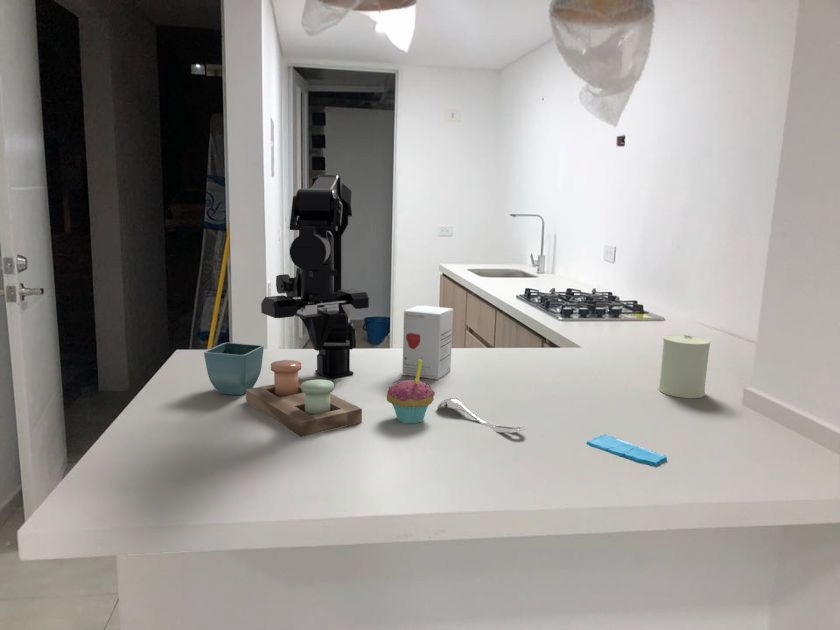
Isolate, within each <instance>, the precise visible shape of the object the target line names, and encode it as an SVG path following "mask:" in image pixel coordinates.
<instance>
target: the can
mask: <svg viewBox="0 0 840 630" xmlns="http://www.w3.org/2000/svg"><path fill="white" fill-rule="evenodd" d="M662 343H663V344H662V356H661V364H660V365H661V367H660V368H661V369H660V377H659V385H658V387H657V389H658V391H659V392H661V393H662V394H665V395H667V396H671V397H676V398H682V399H700V398H703V397H705V395H706V392H705V391H706V382H707V381H706V379H707V372H708V363H709V361H708V360H709V354H710V345H711V341H710V340H709V339H707V338H704V337H699V336H695V335H689V334H688V335H687V334H669V335H665V336H663V342H662Z"/></svg>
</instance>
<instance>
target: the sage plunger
mask: <svg viewBox="0 0 840 630" xmlns="http://www.w3.org/2000/svg"><path fill="white" fill-rule="evenodd" d="M304 381H305V382H303V383H302V384H301V391H302V392H303V393H305V413H307V414H309V415H316V414H321V413H325V412H330V393H331V392H333V391H335V390H334V389H335V388H334V387H335V384H334V382H333V381H331V380H329V379H328V380H327V379H310V380H304Z"/></svg>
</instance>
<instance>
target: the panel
mask: <svg viewBox="0 0 840 630" xmlns="http://www.w3.org/2000/svg"><path fill="white" fill-rule="evenodd" d="M305 381H306V380H305V379H298V394H294V395H289V396H284V397H277V396H276V395H275V383H274V384H269V385H264V386H258V387H253V388H251V389H246V392H245V402H246V403H247V404H249V405H251V406H252V407H253V408H255V409H256V410H258V411H259V412H261V413H263V414H264V415H265V416H267V417H269V418H270V419H272V420H274V421H275V422H276V423H278V424H280V425H281V426H283V427H285V429H287V430H289V431H291V432H292V433H293V434H295V435H297V436H298V437H299V438H302V437H305V436H310V435H315V434H318V433H323V432H328V431H332V430H335V429H340V428H344V427H348V426H351V425H352V426H353V425H356V424H361V423H363V418H362V417H363V415H362V414H363V408H361V407H359V406H357V405H355V404H353V403H352V402H349V401H347V400H345V399H343V398H341V397H338V396H337V395H335V394H332V393H331V392H330V412H325V413H321V414H316V415H309V414H307V413H305V393H303V392H302V391H301V384H302V383H303V382H305Z"/></svg>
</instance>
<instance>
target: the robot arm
mask: <svg viewBox="0 0 840 630" xmlns="http://www.w3.org/2000/svg"><path fill="white" fill-rule="evenodd" d="M342 178H343V177H342V176H340V175H338V174H318V175H315V179H314V183H313V185H312V186H311V187H310V188H299V189H297V190H296V195H293V196H292V202H291V211H290V218H289V220H290V221H289V230H290V231H298V236H296V237H295V238H294V240H292V242H291V244H290V248H289V256H290V259H291V261H292V262H293V264H294V266H296V267H297V268H296V270H295V276H294V277H290V274H278V275H276V277H275V287H276V292H277V294H279V295H273V296H272V295H271V296H265V297H264V298H263V299H262V301H261V303H260V305H261V308H260V309H261V310H260V311H261V312H260V313H261V314H263V315H266V316H268V317H271V318H273V319H284V318H292V317H298V318H299V319H300V320H301V321H302V323H303V325H304V327H305V328H306V330H307V331H306V332H307V334H308V336H309V339H310V342H311V344H312V346H313V349H314V350H315V351H316V352H318V354H316V369H315V370H314V373H316V374H318V375H320V376H322V377H325V378H327V379H335V378H340V377H345V376H346V377H347V376H351V375H354V371H352V370H350V369H351V368H350V366H351V364H350V363H351V359H350V358H351V356H350V355H351V352H350V351H351V350H353V349H357V334H356V333H357V331H356V328H355V326H354V322H352V321H351V313H350V312H349V310H348V309H347V307H346V305H351V306H352V307H353V308H354V309H355V310H360V309H369V308H370V296H369V295H368V293H367V292H366V291H363V290H359V289H356V288H348V289H343V288H344V287H343V283H344V271H343V270H344V267H343V266H344V265H343V264H344V261H343V260H344V252H343V251H344V250H343V249H344V245H343V244H344V241H343V240H344V235H345V233H346V231H347V229H348V228H349V226H350V224H351V217H353V216H354V200H353V192H352V190H351V189H350V188H349V187H347V186H346V185H345V183H343V180H342ZM280 294H281V295H280ZM282 294H285V295H282Z"/></svg>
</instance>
